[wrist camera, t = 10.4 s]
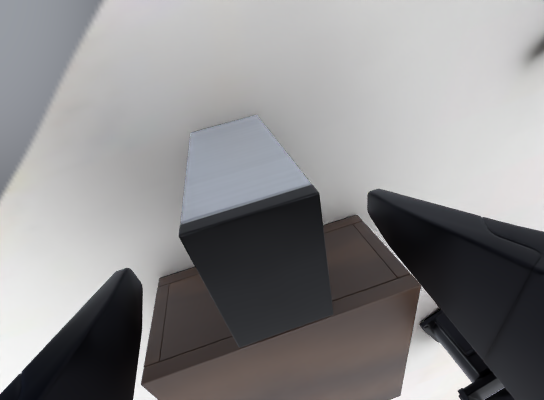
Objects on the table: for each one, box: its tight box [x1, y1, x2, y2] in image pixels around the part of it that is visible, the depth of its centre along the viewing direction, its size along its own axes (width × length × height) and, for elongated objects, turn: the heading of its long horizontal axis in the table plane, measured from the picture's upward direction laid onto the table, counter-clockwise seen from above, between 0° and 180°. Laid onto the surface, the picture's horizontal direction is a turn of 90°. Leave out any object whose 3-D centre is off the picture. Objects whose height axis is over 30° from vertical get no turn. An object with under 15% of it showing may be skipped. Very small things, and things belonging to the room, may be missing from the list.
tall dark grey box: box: [179, 115, 333, 347], centre depth 11 cm, size 5×4×8 cm, turn 12°
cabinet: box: [141, 215, 421, 400], centre depth 19 cm, size 15×15×7 cm
